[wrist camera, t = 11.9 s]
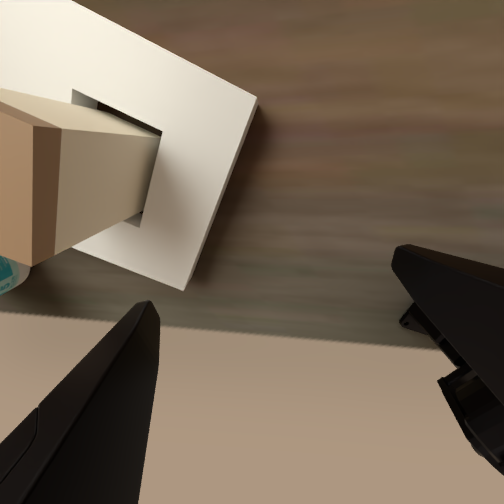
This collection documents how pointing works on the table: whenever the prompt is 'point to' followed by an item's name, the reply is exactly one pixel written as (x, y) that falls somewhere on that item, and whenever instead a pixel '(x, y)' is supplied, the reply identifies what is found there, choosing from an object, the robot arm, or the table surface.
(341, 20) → the table surface
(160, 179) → the socket plate
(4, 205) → the tan topped cream pillar
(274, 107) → the table surface
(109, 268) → the table surface
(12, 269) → the pill bottle
